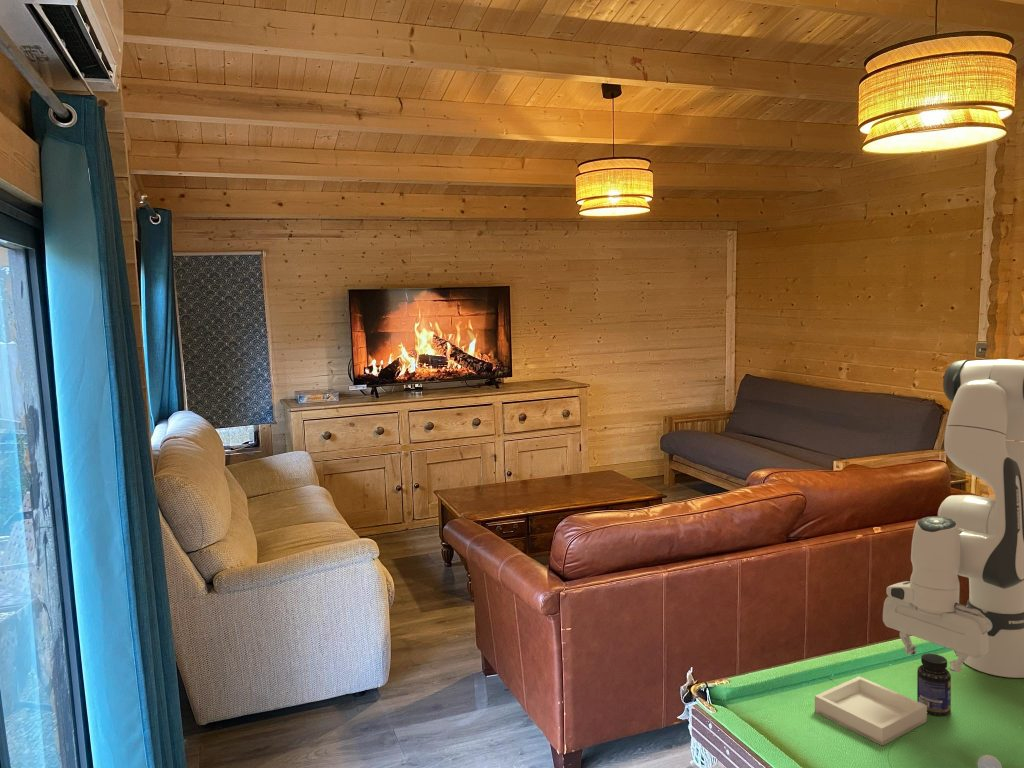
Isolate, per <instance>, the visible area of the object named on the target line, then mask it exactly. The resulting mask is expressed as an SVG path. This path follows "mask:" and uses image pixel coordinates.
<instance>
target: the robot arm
mask: <svg viewBox="0 0 1024 768" xmlns="http://www.w3.org/2000/svg"><path fill="white" fill-rule="evenodd" d="M942 388H943V392H944V395H945V396H946V398H947V399H948V400H949V402H951V406H950V409H949V411H948V416H947V421H946V426H945V432H944V440H943V447H944V452H945V454H946V456H947V458H948V459H949V461H950V462H952V463H953V464H954V465H955V466H956V467H958V468H959V469H960V470H962V471H964V472H966V473H968V474H969V475H971V476H974V477H976V478H978V479H979V480H982V481H983V482H984V483H986V485H988V487H990V488H991V490H992V491H993V494H994V497H995V498H991V497H986V496H979V495H974V494H956V495H955V494H954V495H953V494H952V495H949V496H947V497H946V498H945V499H944V500H942V502H941V504H940V506H939V507H938V511H937V516H935V515H934V516H933V515H932V516H926V517H922V518H920V519H917V520H916V523H915V526H914V529H913V534H912V540H911V551H910V552H911V553H910V561H911V564H912V573H911V575H910V580H909V581H906V580H905V581H900V582H897V583H894V584H891V585H889V586H887V587H886V595H887V597H886V598H885V600H884V601H883V608H882V622H883V624H884V625H885V626H886V627H887V628H889V629H893V630H896V631H898V632H899V637H900V639H901V642H902V644H903V646H904V653H905V654H908V655H910V656H913V655H915V654H916V652H917V645H915V644H913V642H912V639H911V636H912V637H915V638H917V639H920V640H924V641H926V642H929V643H932V644H935V645H938V646H940V647H943V648H947V649H949V650H952V651H954V652H955V657H958V658H957V659H954V660H952V661H949V666H950V667H949V670H950V671H953V672H955V673H961V672H962V669H963V663H964V664H965V665H967V666H969V667H971V668H972V669H974V670H977V671H979V672H982V673H986V674H989V675H993V676H998V677H1002V678H1003V677H1005V678H1017V679H1018V678H1022V679H1023V678H1024V360H1023V359H1021V360H1019V359H1009V358H998V359H978V360H976V359H975V360H971V359H964V360H956V361H954V362H952V363H951V364H950V365H949V366H948V367H947V368H946V370H945V372H944V374H943V380H942ZM959 576H960V577H963V578H968V588H969V589H968V591H969V594H968V595H969V597H968V598H969V599H968V600H967V603H966V605H963V604H960V590H961V589H960V587H961V586H960V585H961V583H960V580H959Z"/></svg>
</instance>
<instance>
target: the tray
mask: <svg viewBox="0 0 1024 768" xmlns="http://www.w3.org/2000/svg"><path fill="white" fill-rule="evenodd" d="M814 713H816V714H818V715H820V716H822V717H824V718H826V719H829V720H830V721H832V722H834V723H836V724H838V725H840V726H842V727H844V728H846V729H848V730H849V731H852V732H853V733H856V734H857V733H858V735H859V736H862V737H863V736H864V738H865V737H866V738H865V739H867V738H868V739H867V740H869V739H870V741H871V740H872V741H871V742H873V741H874V742H873V743H875V742H876V743H875V744H877V743H878V744H877V745H879V744H880V746H881V745H883V746H885V745H887V744H888V743H891V742H892V741H894V740H895V739H898V738H900V737H902V736H903V735H905V734H908V733H909V732H911V731H913V730H914V729H916V728H918V727H920V726H922V725H924V724H926V723H927V722H928V713H927V705H925V704H922V703H920V702H918V701H917V700H916V699H913V698H911V697H908V696H906V695H904V694H901V693H899V692H897V691H895V690H892V689H890V688H887V687H885V686H883V685H880V684H878V683H876V682H874V681H871V680H869V679H866V678H865V677H862V676H860V675H858V676H857V677H854V678H852V679H850V680H847V681H845V682H842V683H840V684H839V685H836V686H833V687H831V688H829V689H827V690H825V691H822V692H820V693H818V694H816V695H814Z"/></svg>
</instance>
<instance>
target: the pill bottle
mask: <svg viewBox="0 0 1024 768" xmlns="http://www.w3.org/2000/svg"><path fill="white" fill-rule="evenodd" d="M920 658H921V659H920V661H921V665H919V666H918V667H917V673H916V675H917V676H916V677H917V678H916V680H917V682H916V683H917V687H916V689H917V691H916V692H917V693H916V699H917V700H916V701H918V702H920V703H922V704H925V705H927V715H928V714H929V715H934V716H939V717H941V716H948V715H949V714H951V711H952V710H951V708H952V706H951V705H952V703H951V702H952V675H951V672H950V671H949V670H948V669H947V668H948V659H947V658H946V657H944V656H943V655H940V654H936V653H924V654H922V655H921V657H920Z"/></svg>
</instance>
